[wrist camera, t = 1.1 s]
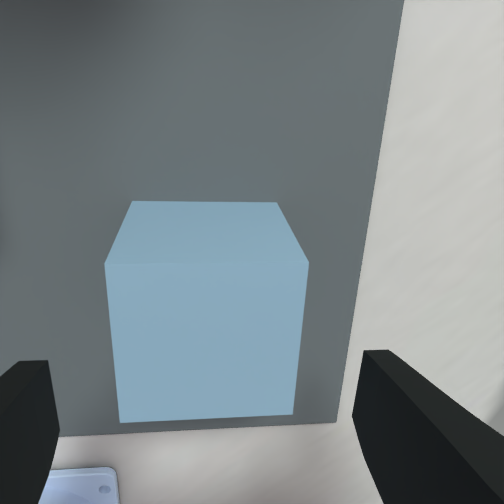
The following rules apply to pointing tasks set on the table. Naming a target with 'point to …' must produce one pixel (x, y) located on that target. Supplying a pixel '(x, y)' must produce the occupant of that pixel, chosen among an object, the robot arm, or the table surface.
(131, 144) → the mat
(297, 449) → the table surface
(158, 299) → the cube
